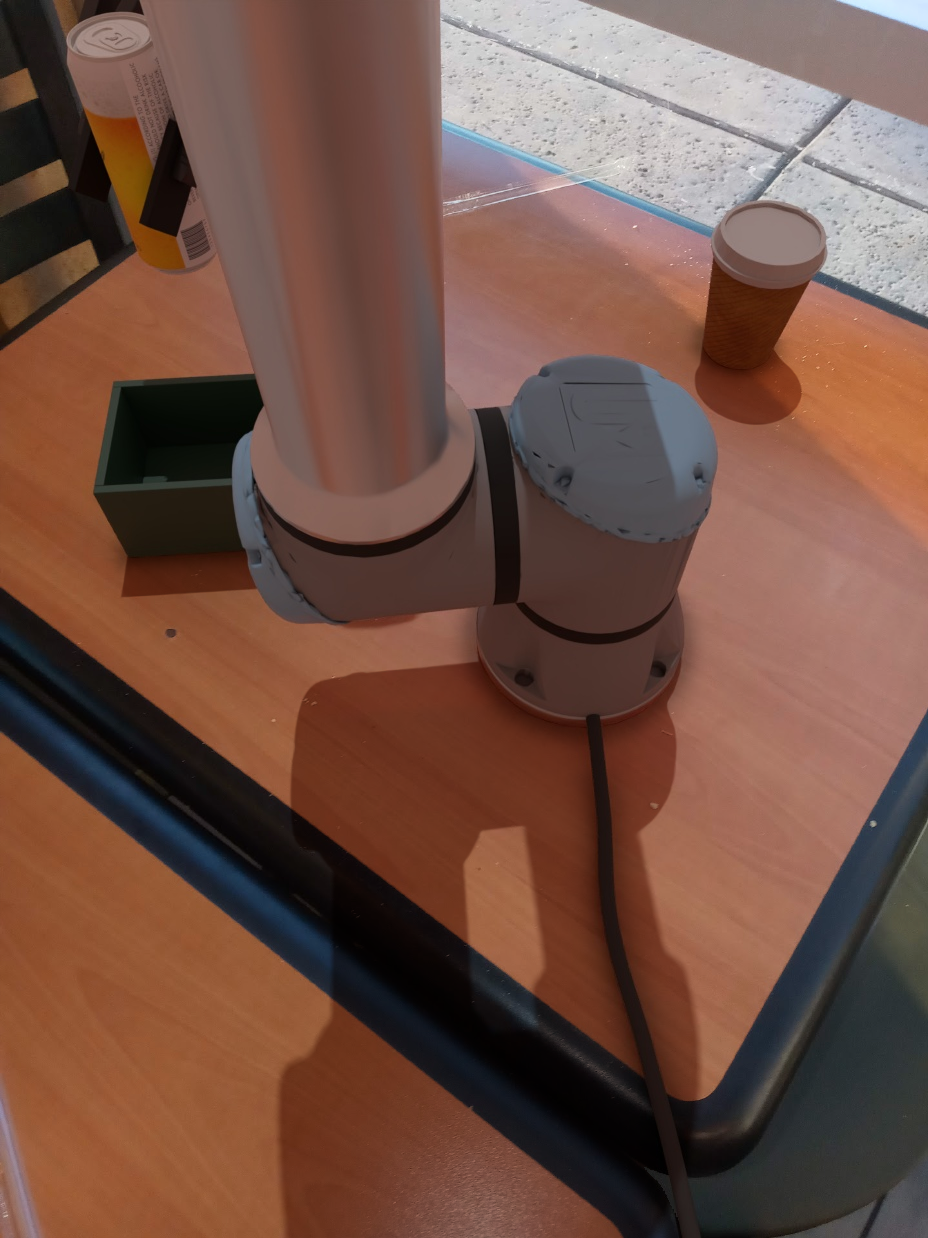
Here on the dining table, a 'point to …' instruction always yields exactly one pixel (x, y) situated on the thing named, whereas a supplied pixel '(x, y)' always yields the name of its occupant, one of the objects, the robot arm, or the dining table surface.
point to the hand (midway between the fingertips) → (122, 211)
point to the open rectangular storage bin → (174, 462)
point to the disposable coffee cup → (758, 278)
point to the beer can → (134, 131)
